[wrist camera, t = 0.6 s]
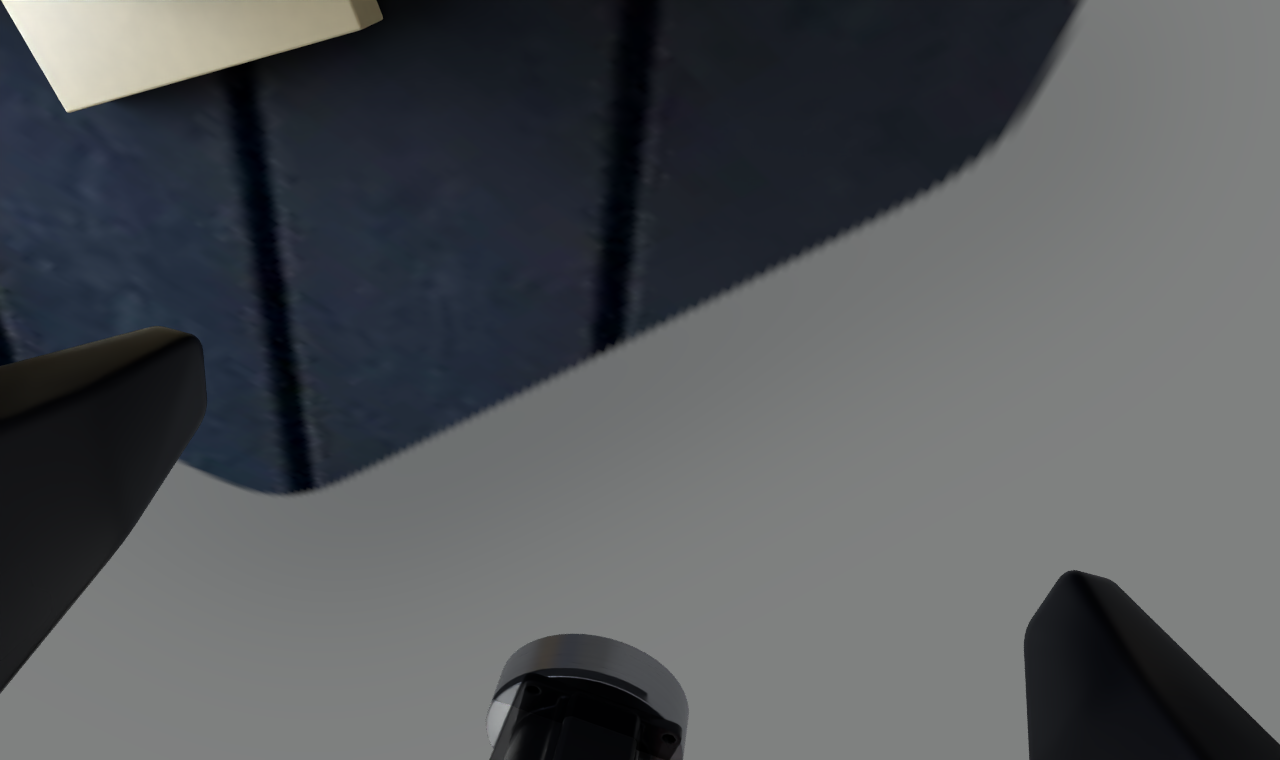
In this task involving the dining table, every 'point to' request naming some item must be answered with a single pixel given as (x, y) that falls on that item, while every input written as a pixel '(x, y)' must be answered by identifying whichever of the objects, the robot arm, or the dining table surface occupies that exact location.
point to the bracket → (168, 39)
